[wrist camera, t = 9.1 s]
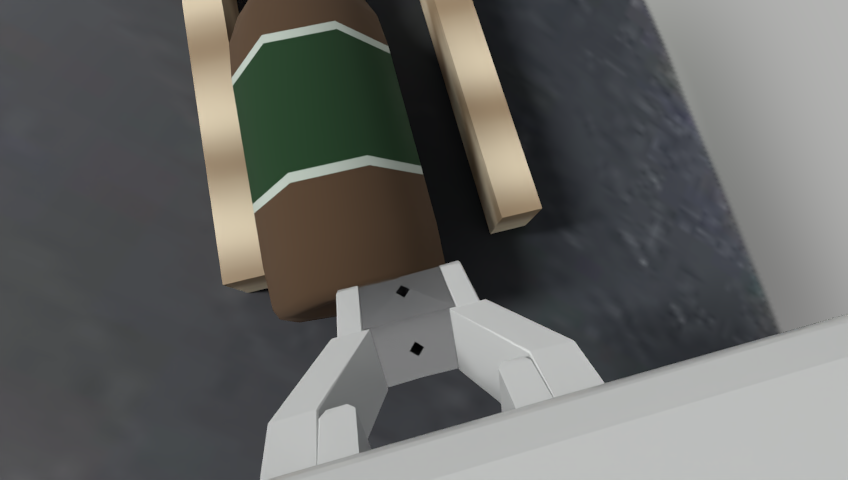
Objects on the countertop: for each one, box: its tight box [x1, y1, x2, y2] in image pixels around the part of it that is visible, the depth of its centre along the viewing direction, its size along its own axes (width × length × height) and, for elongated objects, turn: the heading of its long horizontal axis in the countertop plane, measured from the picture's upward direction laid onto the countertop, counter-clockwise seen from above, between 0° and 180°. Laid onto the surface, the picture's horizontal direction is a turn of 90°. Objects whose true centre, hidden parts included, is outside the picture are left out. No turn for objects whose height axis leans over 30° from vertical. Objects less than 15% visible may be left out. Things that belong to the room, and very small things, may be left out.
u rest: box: [182, 0, 542, 293], centre depth 23 cm, size 26×15×3 cm, turn 14°
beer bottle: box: [229, 0, 445, 322], centre depth 20 cm, size 8×8×24 cm
